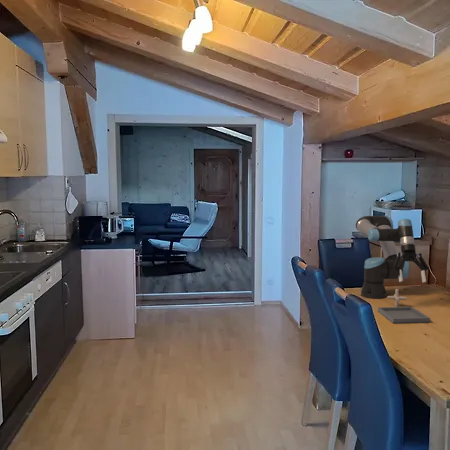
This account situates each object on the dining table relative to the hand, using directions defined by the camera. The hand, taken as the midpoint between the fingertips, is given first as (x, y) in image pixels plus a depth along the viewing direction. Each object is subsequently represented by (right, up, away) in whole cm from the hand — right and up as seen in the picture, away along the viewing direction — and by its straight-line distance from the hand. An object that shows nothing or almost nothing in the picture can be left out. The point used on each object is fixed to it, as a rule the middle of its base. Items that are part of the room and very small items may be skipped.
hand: (412, 281), depth 257 cm
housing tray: (-11, -17, -14) cm, 25 cm away
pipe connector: (-7, -15, +5) cm, 17 cm away
